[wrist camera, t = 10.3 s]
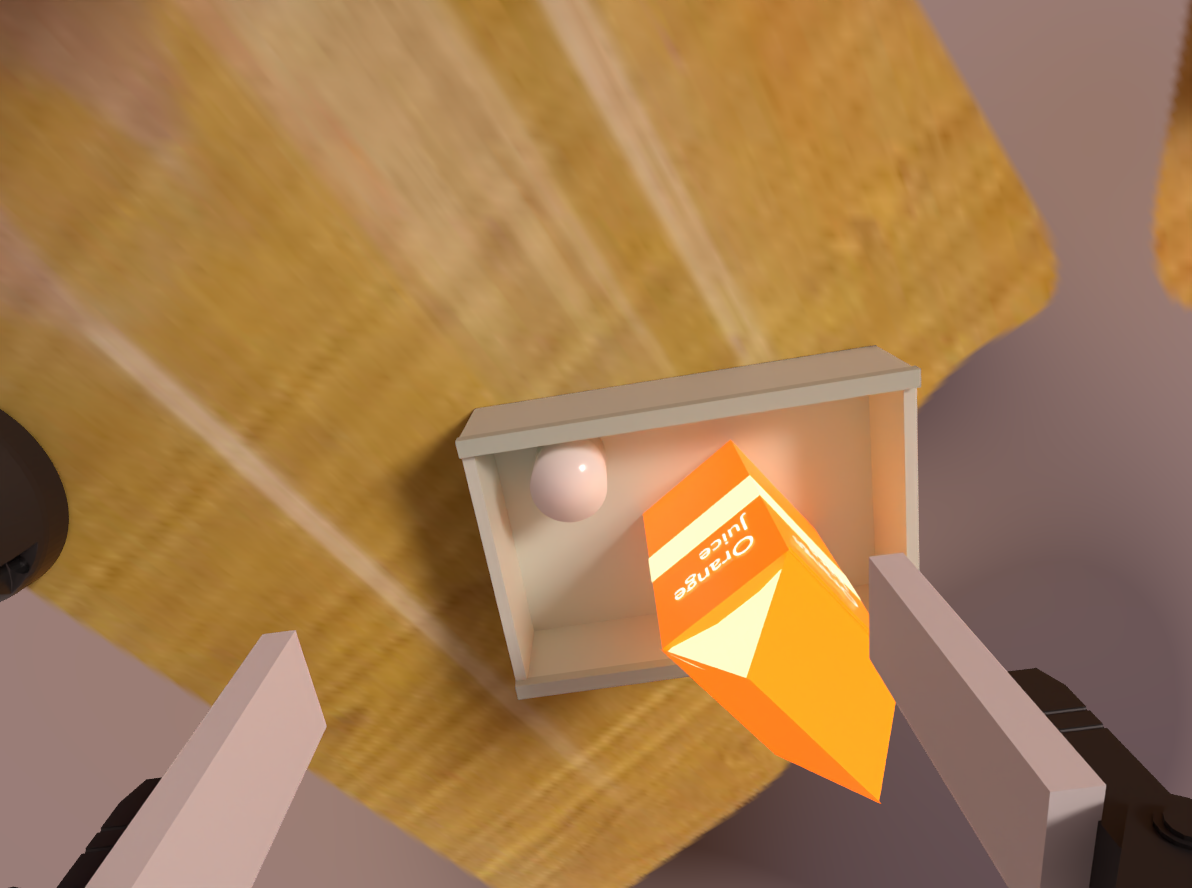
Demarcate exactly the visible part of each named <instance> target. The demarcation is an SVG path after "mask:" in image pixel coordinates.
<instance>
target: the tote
mask: <svg viewBox="0 0 1192 888" xmlns="http://www.w3.org/2000/svg"><path fill="white" fill-rule="evenodd" d="M918 387H921V369H920V368H919V367H917V366H910V365H909V364H907V363H905V362H903V361H902V360H900V359H898V358H897V357H895V356H893V355H891V354H890V353H888V352H886V351H884V350H883V349H881V348H879V347H877V346H876V345H874V346H868V347H861V348H855V349H849V350H842V351H836V352H830V353H823V354H817V355H811V356H805V357H798V358H792V359H786V360H779V361H773V362H767V363H761V364H754V365H748V366H742V367H735V368H729V369H723V370H716V371H710V372H704V373H698V374H691V375H685V376H679V377H672V378H666V379H660V380H653V381H647V382H641V383H635V384H628V385H622V386H616V387H609V388H603V389H597V390H591V391H584V392H578V393H572V394H565V395H559V396H553V397H546V398H540V399H534V400H528V401H521V402H515V403H509V404H502V405H496V406H490V407H484V408H477V409H474V411H473V413H472V415H471V417H470V418H469V420H468V422H467V424H466V426H465V428H464V430H463V432H462V433H461V435H460V437H457V439H456V441H455V444H456V448H457V452H458V456H459V459H461V458H462V461H463V466H464V470H465V474H466V478H467V482H468V486H469V490H470V494H471V498H472V503H473V507H474V511H475V515H476V519H477V523H478V527H479V531H480V535H481V540H482V544H483V548H484V552H485V556H486V560H487V564H488V568H489V572H490V577H491V581H492V585H493V589H494V593H495V597H496V601H497V605H498V609H499V614H500V618H501V622H502V626H503V630H504V634H505V638H506V642H507V646H508V651H509V655H510V659H511V663H512V667H513V671H514V675H515V679H516V683H515V689H516V693H517V697H518V700H521V699H528V698H535V697H543V696H550V695H557V694H565V693H572V692H579V691H587V690H594V689H601V688H609V687H616V686H623V685H631V684H638V683H645V682H653V681H660V680H667V679H675V678H682V677H689V675H688V674H687V673H686V672H685V671H684V670H683V669H681V668H680V667H679V666H678V665H677V664H676V663H675V662H674V661H673V660H672V659H671V658H669V657H668V656H667V655H666V654H665V653H664V652H663V651H662V650H663V649H662V643H661V636H660V629H659V622H658V615H657V608H656V601H655V595H654V588H653V583H652V581H651V574H650V567H649V560H648V559H649V553H648V546H647V539H646V532H645V525H644V518H643V513H645V512H646V511H647V510H648V509H649V508H651V507H652V506H653V505H654V504H655V503H656V502H658V501H659V500H660V499H661V498H662V497H664V496H665V495H666V494H667V493H668V492H669V491H671V490H672V489H673V488H674V487H675V486H677V485H678V484H679V483H680V482H681V481H682V480H684V479H685V478H686V477H687V476H688V475H690V474H691V473H692V472H693V471H694V470H695V469H697V468H698V467H699V466H700V465H701V464H703V463H704V462H705V461H706V460H707V459H708V458H710V457H711V456H712V455H713V454H714V453H716V452H717V451H718V450H719V449H720V448H721V447H723V446H724V445H725V444H726V443H727V442H729V441H730V440H731V441H732V442H733V443H734V444H735V445H736V446H737V447H738V448H739V449H740V450H741V451H742V452H743V453H744V454H745V456H746V457H747V458H748V459H749V460H750V461H751V462H752V463H753V464H754V465H755V466H756V467H757V468H758V469H759V470H760V471H761V473H762V474H763V475H764V476H765V477H766V478H767V479H768V480H769V481H770V482H771V483H772V484H773V485H774V486H775V487H776V488H777V490H778V491H779V492H780V493H781V494H782V495H783V496H784V497H785V498H786V499H787V500H788V501H789V502H790V503H791V504H792V505H793V506H794V508H795V509H796V510H797V511H798V512H799V513H800V514H801V515H802V516H803V517H804V518H805V519H806V520H807V521H808V522H809V523H810V525H811V526H812V527H813V528H814V529H815V530H816V532H817V533H818V535H819V536H820V538H821V539H822V541H823V543H824V544H825V546H826V547H827V549H828V550H829V552H830V554H831V555H832V557H833V558H834V560H835V561H836V563H837V565H838V566H839V568H840V569H841V571H842V572H843V574H844V575H845V576H846V577H847V579H848V580H849V582H850V584H851V585H852V587H853V588H854V590H855V591H856V593H857V594H858V596H859V598H860V599H861V600H860V601H861V602H862V604H863V605H864V607H865V609H866V610H867V612H868V613H869V557H871V556H879V555H887V554H895V553H902V552H903V553H904V554H905V555H906V556H907V558H908V559H909V560H910V561H911V562H912V563H913V564H914V566H915V567H916V568H917V569H918V570H919V519H918V518H919V516H918V445H917V444H918V443H917V388H918ZM596 437H600V439H601V440H602V442H603V444H604V447H605V451H606V470H607V494H606V498H605V500H604V502H603V504H602V506H601V507H600V508H599V510H598V511H597V512H596V513H594V514H593V515H592V516H590V517H589V518H586V519H584V520H581V521H577V522H560V521H557V520H554V519H551V518H550V517H548V516H546V515H545V514H543V513H542V512H541V511H540V510H539V509H538V508H537V506H536V505H535V503H534V501H533V499H532V496H531V492H530V481H531V476H532V471H533V467H534V462H535V457H536V453H537V448H538V446H544V445H551V444H557V443H564V442H570V441H576V440H583V439H589V438H596ZM661 649H662V650H661Z"/></svg>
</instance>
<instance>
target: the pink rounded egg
mask: <svg viewBox="0 0 1192 888" xmlns="http://www.w3.org/2000/svg"><path fill="white" fill-rule="evenodd" d="M530 492H531V496H532V499H533V501H534V503H535V505H536V506H537V508H538V509H539V510H540V511H541V512H542V513H543V514H545V515H546V516H548V517H550V518H551V519H554V520H557V521H560V522H577V521H581V520H584V519H586V518H589V517H590V516H592V515H593V514H594V513H596V512H597V511H598V510H599V508H600V507H601V506H602V504H603V502H604V500H605V498H606V494H607V470H606V451H605V447H604V444H603V442H602V440H601V439H600V437H596V438H589V439H583V440H576V441H570V442H564V443H557V444H551V445H544V446H538V448H537V453H536V457H535V462H534V467H533V471H532V476H531V481H530Z"/></svg>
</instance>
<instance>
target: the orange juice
mask: <svg viewBox="0 0 1192 888" xmlns="http://www.w3.org/2000/svg"><path fill="white" fill-rule="evenodd" d="M643 518H644V525H645V532H646V539H647V546H648V553H649V559H648V560H649V567H650V574H651V581H652V583H653V588H654V595H655V601H656V608H657V615H658V622H659V629H660V636H661V643H662V649H663V650H662V649H661V650H662V651H663V652H664V653H665V654H666V655H667V656H668V657H669V658H671V659H672V660H673V661H674V662H675V663H676V664H677V665H678V666H679V667H680V668H681V669H683V670H684V671H685V672H686V673H687V674H688V675H689V676H690V677H691V678H692V679H693V680H695V681H696V682H697V683H698V684H699V685H700V686H701V687H702V688H703V689H704V690H705V691H707V692H708V693H709V694H710V695H711V696H712V697H713V698H714V699H715V700H716V701H717V702H719V703H720V704H721V705H722V706H723V707H724V708H725V709H726V710H727V711H728V712H729V713H731V714H732V715H733V716H734V717H735V718H736V719H737V720H738V721H739V722H740V723H741V724H743V725H744V726H745V727H746V728H747V729H748V730H749V731H750V732H751V733H752V734H753V735H755V736H756V737H757V738H758V739H759V740H760V741H761V742H762V743H763V744H764V745H766V746H767V747H768V748H769V749H770V750H771V751H772V752H773V753H774V754H775V755H778V756H780V757H782V758H784V759H786V760H788V761H790V762H793V763H795V764H797V765H799V766H801V767H803V768H805V769H807V770H810V771H812V772H814V773H816V774H818V775H821V776H822V777H825V778H827V779H829V780H831V781H833V782H835V783H838V784H840V785H842V786H844V787H846V788H848V789H850V790H852V791H855V792H857V793H859V794H861V795H863V796H865V797H867V798H870V799H872V800H874V801H876V802H878V803H880V802H879V798H880V792H881V785H882V780H883V773H884V768H885V761H886V756H887V750H888V744H889V738H890V732H891V726H892V719H893V714H894V708H895V700H894V699H893V697H892V695H891V694H890V692H889V690H888V689H887V687H886V685H885V684H884V682H883V680H882V679H881V677H880V676H879V674H878V672H877V671H876V669H875V667H874V666H873V664H872V662H871V661H870V659H869V613H868V612H867V610H866V609H865V607H864V605H863V604H862V602H861V601H860V600H861V599H860V598H859V596H858V594H857V593H856V591H855V590H854V588H853V587H852V585H851V584H850V582H849V580H848V579H847V577H846V576H845V575H844V574H843V572H842V571H841V569H840V568H839V566H838V565H837V563H836V561H835V560H834V558H833V557H832V555H831V554H830V552H829V550H828V549H827V547H826V546H825V544H824V543H823V541H822V539H821V538H820V536H819V535H818V533H817V532H816V530H815V529H814V528H813V527H812V526H811V525H810V523H809V522H808V521H807V520H806V519H805V518H804V517H803V516H802V515H801V514H800V513H799V512H798V511H797V510H796V509H795V508H794V506H793V505H792V504H791V503H790V502H789V501H788V500H787V499H786V498H785V497H784V496H783V495H782V494H781V493H780V492H779V491H778V490H777V488H776V487H775V486H774V485H773V484H772V483H771V482H770V481H769V480H768V479H767V478H766V477H765V476H764V475H763V474H762V473H761V471H760V470H759V469H758V468H757V467H756V466H755V465H754V464H753V463H752V462H751V461H750V460H749V459H748V458H747V457H746V456H745V454H744V453H743V452H742V451H741V450H740V449H739V448H738V447H737V446H736V445H735V444H734V443H733V442H732V441H731V440H730V441H729V442H727V443H726V444H725V445H724V446H723V447H721V448H720V449H719V450H718V451H717V452H716V453H714V454H713V455H712V456H711V457H710V458H708V459H707V460H706V461H705V462H704V463H703V464H701V465H700V466H699V467H698V468H697V469H695V470H694V471H693V472H692V473H691V474H690V475H688V476H687V477H686V478H685V479H684V480H682V481H681V482H680V483H679V484H678V485H677V486H675V487H674V488H673V489H672V490H671V491H669V492H668V493H667V494H666V495H665V496H664V497H662V498H661V499H660V500H659V501H658V502H656V503H655V504H654V505H653V506H652V507H651V508H649V509H648V510H647V511H646V512H645V513H643ZM880 804H881V803H880Z"/></svg>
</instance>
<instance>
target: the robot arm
mask: <svg viewBox="0 0 1192 888" xmlns="http://www.w3.org/2000/svg"><path fill="white" fill-rule="evenodd" d="M68 524H69V513H68V504H67V499H66V494H65V491H64V488H63V485H62V482H61V480H60V477H59V475H58V473H57V471H56V469H55V467H54V465H53V463H52V462H51V460H50V458H49V457H48V455H47V454H46V452H45V451H44V450H43V448H42V447H41V446H40V445H39V443H38V442H37V441H36V440H35V439H34V438H33V436H32V435H31V434H30V433H29V432H28V431H27V430H26V429H25V428H24V427H22V426H21V425H20V424H19V423H18V422H17V421H16V420H14V419H13V418H12V417H11V416H9V415H8V414H6V413H5V412H4V411H2V410H1V409H0V602H1V601H3V600H5V599H7V598H9V597H11V596H13V595H15V594H16V593H18V592H19V591H21V590H22V589H23V588H25V587H26V586H28V585H29V584H31V583H32V582H33V581H35V580H36V579H38V578H39V577H40V576H42V575H43V574H44V573H45V572H46V571H47V570H48V569H49V568H50V567H51V566H52V565H53V564H54V563H55V561H56V560H57V558H58V557H59V555H60V553H61V551H62V549H63V546H64V544H65V541H66V537H67V532H68ZM869 659H870V661H871V662H872V664H873V666H874V667H875V669H876V671H877V672H878V674H879V676H880V677H881V679H882V680H883V682H884V684H885V685H886V687H887V689H888V690H889V692H890V694H891V695H892V697H893V699H894V700H895V702H896V704H897V705H898V707H899V708H900V710H901V712H902V713H903V715H904V717H905V718H906V720H907V722H908V723H909V725H910V726H911V728H912V730H913V731H914V733H915V735H916V736H917V738H918V740H919V741H920V743H921V745H922V746H923V748H924V749H925V751H926V753H927V754H928V756H929V758H930V759H931V761H932V763H933V764H934V766H935V768H936V769H937V771H938V772H939V774H940V776H941V778H942V779H943V781H944V782H945V784H946V786H947V787H948V789H949V791H950V792H951V794H952V796H953V797H954V799H955V801H956V802H957V804H958V805H959V807H960V809H961V810H962V812H963V814H964V815H965V817H966V819H967V820H968V822H969V824H970V825H971V827H972V828H973V830H974V832H975V833H976V835H977V837H978V838H979V840H980V842H981V843H982V845H983V847H984V848H985V850H986V851H987V853H988V855H989V856H990V858H991V860H992V861H993V863H994V865H995V866H996V868H997V870H998V871H999V873H1000V875H1001V876H1002V878H1003V880H1004V881H1005V883H1006V884H1007V886H1008V888H1192V799H1190V798H1186V797H1182V796H1178V795H1173V794H1170V793H1169V792H1168V791H1167V790H1166V789H1165V788H1164V787H1163V786H1162V785H1161V784H1160V783H1159V782H1158V781H1157V779H1156V778H1155V777H1154V776H1153V775H1152V774H1151V773H1150V772H1149V771H1148V770H1147V769H1146V768H1145V767H1144V766H1143V765H1142V764H1141V763H1140V762H1139V761H1138V760H1137V759H1136V758H1135V757H1134V756H1133V755H1132V754H1131V753H1130V752H1129V750H1128V749H1127V748H1125V746H1124V745H1123V744H1122V743H1121V742H1120V741H1119V740H1118V739H1117V738H1116V737H1115V736H1114V735H1113V734H1112V733H1111V732H1110V731H1109V730H1108V729H1107V728H1104V727H1103V724H1102V722H1101V721H1100V720H1099V719H1098V718H1097V717H1095V715H1094V714H1093V713H1092V712H1091V711H1087V709H1086V706H1085V705H1084V704H1083V703H1082V702H1081V701H1080V700H1079V699H1078V698H1077V697H1076V696H1075V695H1074V694H1073V692H1072V691H1070V689H1069V688H1068V687H1067V686H1066V685H1064V684H1063V683H1061V682H1059V681H1058V680H1056V679H1054V678H1052V677H1051V676H1049V675H1047V674H1045V673H1044V672H1042V671H1040V670H1039V669H1037V668H1034V669H1024V670H1016V671H1008V672H1007V671H1006V670H1005V669H1004V668H1003V666H1002V665H1001V664H1000V663H999V662H998V661H997V659H996V658H995V657H994V656H993V655H992V654H991V653H990V651H989V650H988V649H987V648H986V647H985V646H984V645H983V644H982V642H981V641H980V640H979V639H978V638H977V637H976V635H975V634H974V633H973V632H972V631H971V630H970V629H969V627H968V626H967V625H966V624H965V623H964V622H963V621H962V619H961V618H960V617H959V616H958V615H957V614H956V613H955V611H954V610H953V609H952V608H951V607H950V606H949V605H948V603H947V602H946V601H945V600H944V599H943V598H942V597H941V595H940V594H939V593H938V592H937V591H936V590H935V589H934V587H933V586H932V585H931V584H930V583H929V582H928V581H927V579H926V578H925V577H924V576H923V575H922V574H921V572H920V571H919V570H918V569H917V568H916V567H915V566H914V564H913V563H912V562H911V561H910V560H909V559H908V558H907V556H906V555H905V554H904V553H903V552H902V553H895V554H887V555H879V556H871V557H869ZM325 729H326V723H325V720H324V717H323V714H322V710H321V707H320V704H319V701H318V698H317V695H316V692H315V689H314V686H313V683H312V680H311V677H310V674H309V671H308V668H307V664H306V661H305V658H304V655H303V652H302V649H301V646H300V643H299V640H298V637H297V634H296V631H295V630H293V631H285V632H277V633H269V634H262V636H261V637H260V639H259V640H258V642H257V643H256V644H255V646H254V647H253V649H252V650H251V652H250V653H249V654H248V656H247V657H246V659H245V660H244V662H243V663H242V664H241V666H240V667H239V669H238V670H237V672H236V673H235V674H234V676H233V677H232V679H231V680H230V681H229V683H228V684H227V686H226V687H225V689H224V690H223V691H222V693H221V694H220V696H219V697H218V699H217V700H216V701H215V703H214V704H213V706H212V707H211V709H210V710H209V711H208V713H207V714H206V716H205V717H204V719H203V720H202V721H201V723H200V724H199V726H198V727H197V729H196V730H195V731H194V733H193V734H192V736H191V737H190V739H189V740H188V741H187V743H186V744H185V746H184V747H183V749H182V750H181V751H180V753H179V754H178V756H177V757H176V758H175V760H174V761H173V763H172V764H171V766H170V767H169V768H168V770H167V771H166V773H165V774H164V776H163V777H162V778H154V779H147V780H145V781H144V782H143V783H142V784H141V785H139V786H138V787H137V788H136V789H135V790H134V791H133V792H132V793H130V794H129V795H128V796H127V797H126V798H125V799H123V800H122V801H121V802H120V803H119V804H118V806H117V807H116V808H115V810H114V811H113V812H112V814H111V815H110V816H109V818H108V819H107V820H106V822H105V823H104V824H103V826H102V827H101V832H100V833H97V834H96V835H95V837H94V838H93V839H92V841H91V842H90V843H89V845H88V846H87V847H86V852H85V854H81V855H80V857H79V858H78V860H77V861H76V862H75V864H74V865H73V866H72V868H71V869H70V870H69V872H68V873H67V874H66V876H65V877H64V878H63V880H62V881H61V882H60V884H59V885H58V886H57V888H252V885H253V883H254V881H255V879H256V877H257V875H258V872H259V870H260V868H261V866H262V863H263V862H264V860H265V857H266V855H267V853H268V851H269V849H270V847H271V845H272V842H273V840H274V838H275V836H276V834H277V832H278V829H279V827H280V825H281V823H282V821H283V819H284V817H285V815H286V812H287V810H288V808H289V806H290V804H291V802H292V799H293V797H294V795H295V793H296V791H297V789H298V787H299V784H300V782H301V780H302V778H303V776H304V774H305V772H306V769H307V767H308V765H309V763H310V761H311V759H312V757H313V754H314V752H315V750H316V748H317V746H318V744H319V742H320V739H321V737H322V735H323V733H324V731H325ZM10 888H17V887H10Z"/></svg>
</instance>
